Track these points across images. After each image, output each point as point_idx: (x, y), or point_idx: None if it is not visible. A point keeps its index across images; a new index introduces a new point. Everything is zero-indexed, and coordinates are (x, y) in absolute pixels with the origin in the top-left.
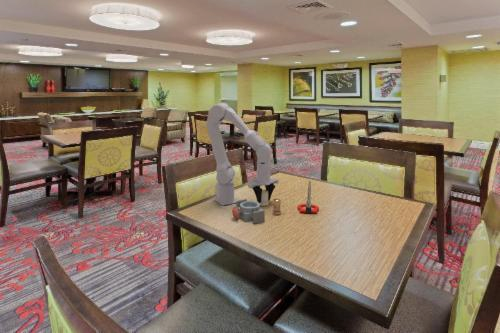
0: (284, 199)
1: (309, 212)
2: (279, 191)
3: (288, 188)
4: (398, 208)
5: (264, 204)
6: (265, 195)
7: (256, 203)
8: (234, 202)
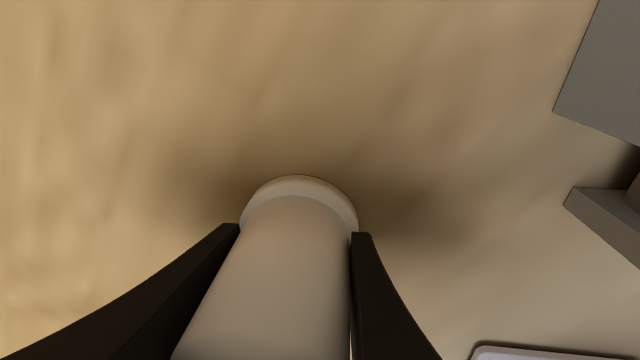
0: (63, 211)
1: None
2: None
3: (7, 337)
4: None
5: (319, 188)
6: (277, 280)
7: None
8: (521, 354)
